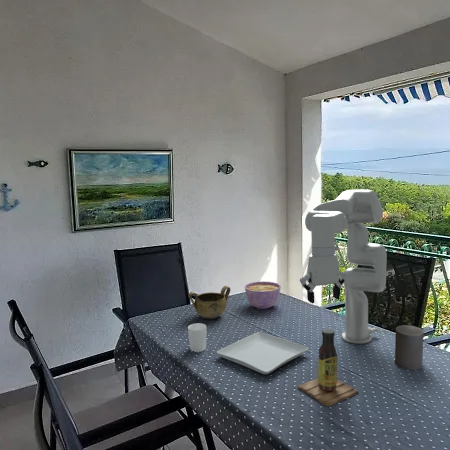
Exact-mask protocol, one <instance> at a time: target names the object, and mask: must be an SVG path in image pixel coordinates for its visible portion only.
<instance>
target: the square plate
mask: <svg viewBox="0 0 450 450" xmlns="http://www.w3.org/2000/svg"><path fill="white" fill-rule="evenodd" d="M308 350H309V347H308V346H305V345H302V344H300V343H297V342H294V341H291V340H288V339H285V338H281V337H278V336H275V335H273V334H268V333H265V332H262V331H258V332H255V333H253V334H250V335H247V336H246V337H243V338H242V339H239V340H238V341H235V342H233V343H231V344H229V345H227V346H225V347H222V348H220V349H219V350H217V351H216V354H218V355H219V356H220V357H221V358H224V359H226V360H228V361H231V362H234V363H236V364H238V365H240V366H244V367H246V368H249V369H251V370H253V371H255V372H258V373H260V374H263V375H269V374H271V373H272V372H274V371H275V370H277V369H279V368H280V367H282V366H284V365H285V364H288V363H289V362H290V361H292V360H294V359H296V358H299V357H300V356H301V355H303V354H305V352H307V351H308Z"/></svg>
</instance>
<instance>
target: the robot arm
mask: <svg viewBox="0 0 450 450" xmlns="http://www.w3.org/2000/svg"><path fill="white" fill-rule="evenodd" d="M383 215H384V212H383V206H382V203H381V202H380V200H379V196H378V195H377V193H375V192H374V191H373V190H371V189H348V190H344V191H342V192H341V193H340V194H339V195H338V196H337V197H336V198H335V199H334V200H329V201H326V202H323V203H320V204H318V205H315V206H312V208H311V209H309V211H308V212H307V214H306V215H305V218H304V219H305V220H304V224H305V227H306V229H307V230H308V231H309V232H311V233H310V234H311V254H310V255H309V256H308V260H307V261H308V263H307V272H306V274H305V275H304V276H303V277H301V278H300V279H299V282H300V284H301V286H302V288H304V289H305V290H306V295H307V296H306V298H307V301H308V302H309V303H310V304H312V305H313V304H315V291H314V289H315V288H316V287H317V286H319V287H320V286H327V285H333V286H332V297H333V298H335V300H340V299H341V297H340V296H341V288H342V287H343V288H344V303H345V304H344V306H345V307H344V310H345V311H344V313H345V314H344V316H345V317H344V322H345V323H344V325H345V328H344V329H345V331H343V332H342V333H341V339H342V340H343V341H345V342H347V343H350V344H356V345H357V344H358V345H359V344H360V345H362V344H368V343H370V342H371V341H372V338H373V337H372V334H374V333H378V328H377V327H373V328H372V327H371V326H369V300H368V296H367V295H366V293H365V292H369V293H370V292H372V293H381V292H383V291H384V290H385V288H386V286H387V285H386V284H387V261H388V259H387V256H388V253H387V250H386V247H385V246H384V245H383V244H379V243H372V242H370V241H369V230H368V228H367V226H366V225H365V224H378V223H380V222H381V221H382V219H383ZM345 230H346V231H347V251H346V254H347V255H346V256H347V261H348V263H350V264H352V265H356V266H357V265H358V266H368V267H369V266H370V267H373V268H366V267H365V268H364V267H348V268H346V269H345V270H344V271H341V270H339V269H340V266H339V261H338V256H337V254H336V251H338V246H337V245H335V244H336V243H335V240H336V238H335V235H336V234H341V233H343V232H344V231H345Z"/></svg>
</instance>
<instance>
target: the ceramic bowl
mask: <svg viewBox="0 0 450 450" xmlns="http://www.w3.org/2000/svg"><path fill="white" fill-rule="evenodd" d="M230 294H231V287H230V286H228V285H224V286H223V287H222V288H221V290H220V292H212V291H211V292H203V293H199V294H196V293H195V292H193V291H190V292H189V293H188V298H189V300H190V302H191V304H192V306H193V307H194V309H195V311H196V313H197V314H198V315H199V316H200V317H202V318H204V319H207V320H208V319H209V320H214V319H216V318H219V317H220V316H222V315H223V314H224V312H225V311H226V308H227V301H228V298H229V295H230ZM193 295H194V299H193V297H192V296H193Z"/></svg>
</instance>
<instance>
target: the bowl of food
mask: <svg viewBox="0 0 450 450" xmlns="http://www.w3.org/2000/svg"><path fill="white" fill-rule="evenodd" d="M244 290H245V294H246V298H247V301H248V303H249V304H250V305H251V306H253V307H255V308H257V309H260V310H265V309H270V308H271V307H273V306H274V305H276V304H277V302H278V300H279V297H280V292H281V284H279V283H277V282H272V281H254V282H250V283H246V284H245V285H244Z"/></svg>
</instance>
